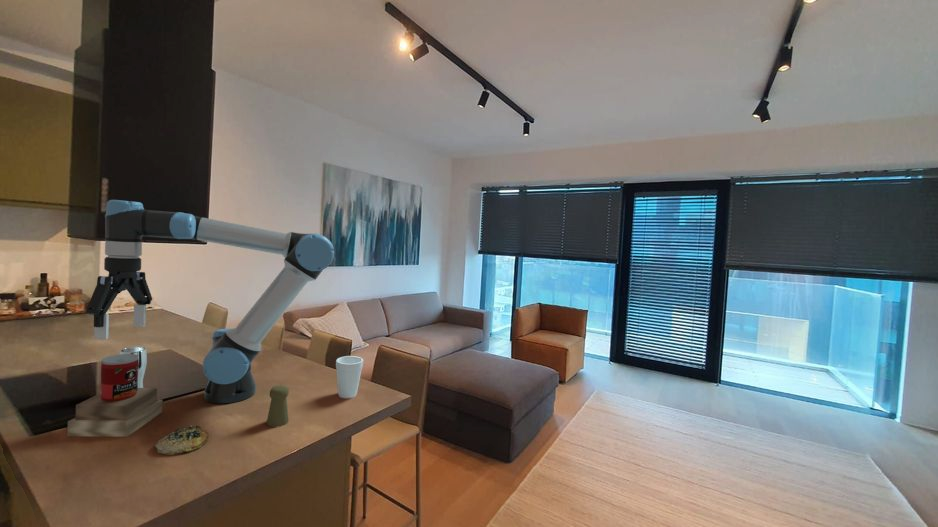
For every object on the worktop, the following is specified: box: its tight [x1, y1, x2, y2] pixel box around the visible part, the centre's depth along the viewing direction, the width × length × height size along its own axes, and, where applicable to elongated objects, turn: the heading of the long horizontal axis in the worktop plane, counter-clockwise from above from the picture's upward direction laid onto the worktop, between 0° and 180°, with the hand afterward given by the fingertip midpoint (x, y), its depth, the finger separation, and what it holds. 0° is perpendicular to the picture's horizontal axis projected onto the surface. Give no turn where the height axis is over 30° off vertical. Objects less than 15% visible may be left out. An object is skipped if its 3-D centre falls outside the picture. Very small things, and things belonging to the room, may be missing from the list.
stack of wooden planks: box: [67, 387, 164, 438], centre depth 106 cm, size 14×14×8 cm
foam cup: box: [335, 355, 364, 399], centre depth 137 cm, size 10×9×13 cm
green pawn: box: [266, 384, 290, 428], centre depth 114 cm, size 6×6×11 cm
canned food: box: [100, 353, 139, 401], centre depth 105 cm, size 8×8×11 cm
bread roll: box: [154, 425, 209, 455], centre depth 99 cm, size 11×11×5 cm
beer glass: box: [119, 346, 148, 388], centre depth 124 cm, size 7×7×15 cm
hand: (121, 332), depth 105 cm, fingers open, 13 cm apart
